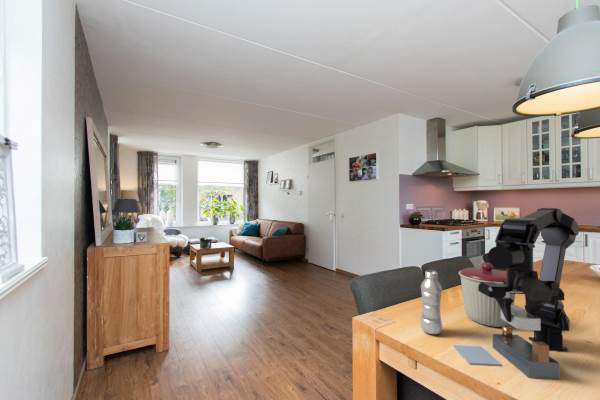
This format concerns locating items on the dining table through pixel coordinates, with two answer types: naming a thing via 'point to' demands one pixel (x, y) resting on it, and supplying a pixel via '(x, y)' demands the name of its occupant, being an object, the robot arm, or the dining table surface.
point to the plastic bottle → (431, 303)
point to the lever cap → (522, 319)
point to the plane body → (526, 355)
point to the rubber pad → (476, 355)
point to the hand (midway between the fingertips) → (519, 322)
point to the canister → (482, 295)
